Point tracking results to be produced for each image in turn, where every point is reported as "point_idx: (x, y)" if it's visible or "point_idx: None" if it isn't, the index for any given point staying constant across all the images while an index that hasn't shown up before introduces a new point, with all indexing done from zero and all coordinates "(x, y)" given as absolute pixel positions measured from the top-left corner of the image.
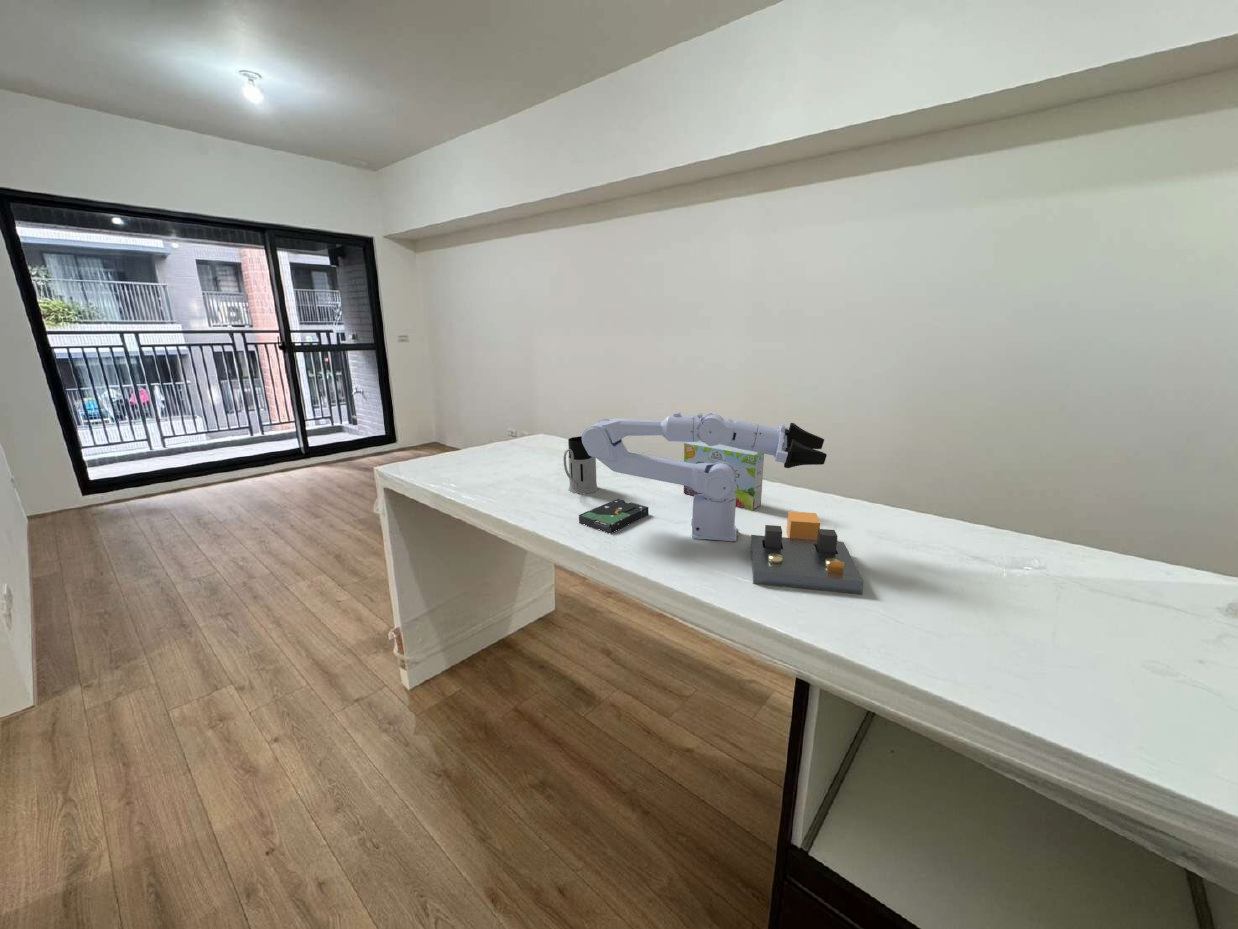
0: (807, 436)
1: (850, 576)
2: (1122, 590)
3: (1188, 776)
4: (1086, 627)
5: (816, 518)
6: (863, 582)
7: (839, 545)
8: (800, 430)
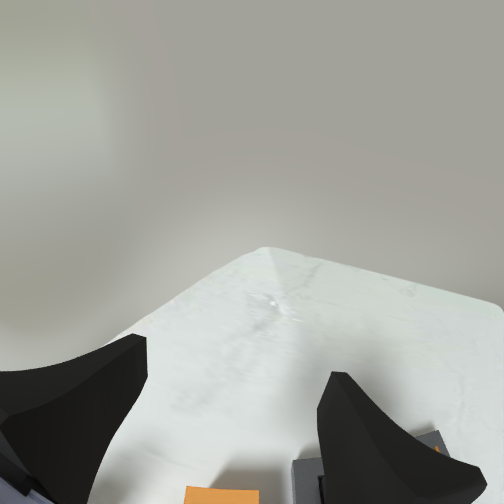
0: (97, 386)
1: (434, 445)
2: (297, 275)
3: (492, 308)
4: (376, 303)
5: (226, 493)
6: (437, 430)
7: (313, 467)
8: (60, 395)
